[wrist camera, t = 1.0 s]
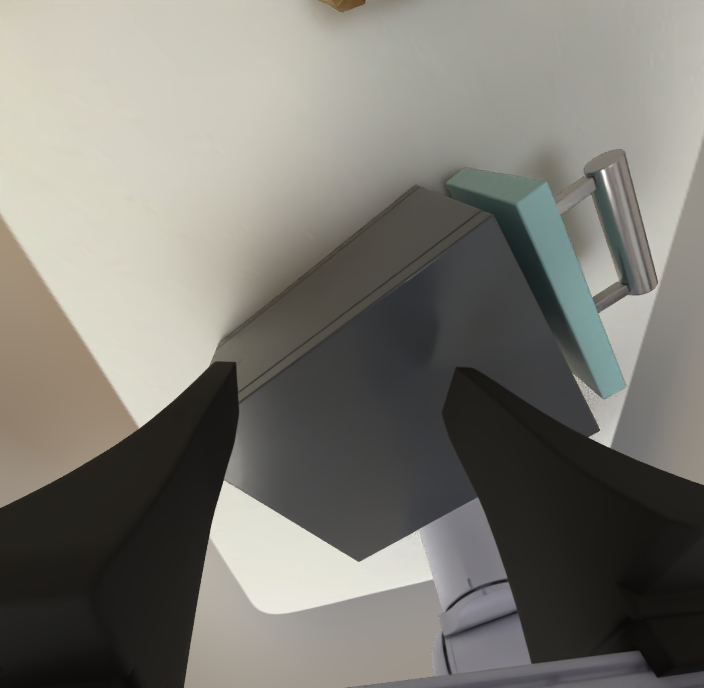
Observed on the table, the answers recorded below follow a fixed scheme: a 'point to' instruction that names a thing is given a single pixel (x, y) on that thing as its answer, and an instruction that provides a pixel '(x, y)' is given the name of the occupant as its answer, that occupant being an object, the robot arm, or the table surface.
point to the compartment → (387, 373)
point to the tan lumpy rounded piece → (344, 4)
